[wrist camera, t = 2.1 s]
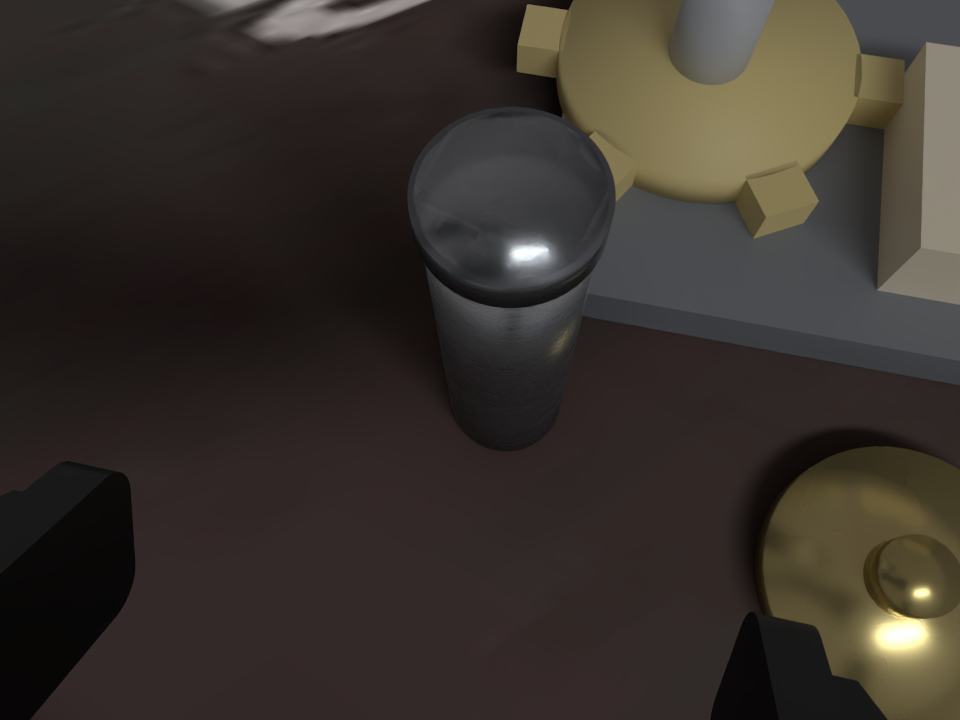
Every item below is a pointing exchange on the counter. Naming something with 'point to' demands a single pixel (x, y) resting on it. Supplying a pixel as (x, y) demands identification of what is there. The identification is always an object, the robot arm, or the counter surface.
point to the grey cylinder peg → (509, 261)
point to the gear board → (773, 170)
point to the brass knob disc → (873, 573)
